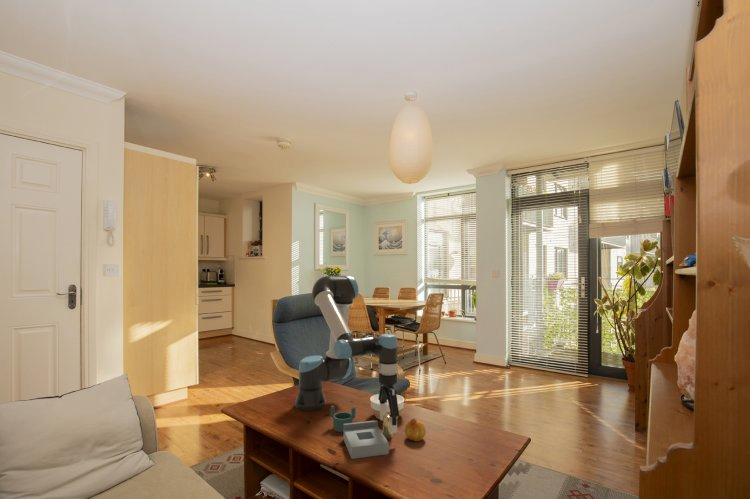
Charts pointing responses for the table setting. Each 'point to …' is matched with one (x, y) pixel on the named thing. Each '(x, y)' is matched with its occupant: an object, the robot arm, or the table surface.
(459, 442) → the table surface
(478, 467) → the table surface
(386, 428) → the brass cylinder
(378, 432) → the jig
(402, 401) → the bowl
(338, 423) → the bracket
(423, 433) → the fruit
